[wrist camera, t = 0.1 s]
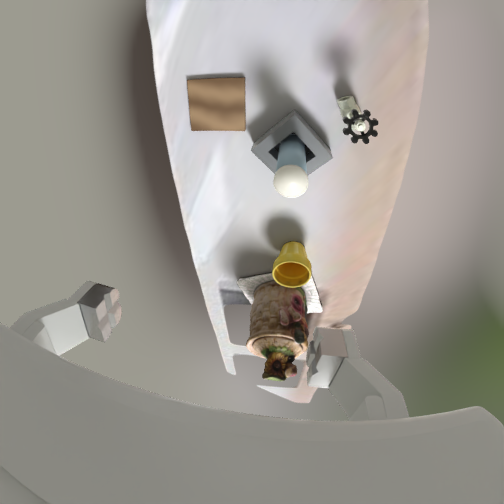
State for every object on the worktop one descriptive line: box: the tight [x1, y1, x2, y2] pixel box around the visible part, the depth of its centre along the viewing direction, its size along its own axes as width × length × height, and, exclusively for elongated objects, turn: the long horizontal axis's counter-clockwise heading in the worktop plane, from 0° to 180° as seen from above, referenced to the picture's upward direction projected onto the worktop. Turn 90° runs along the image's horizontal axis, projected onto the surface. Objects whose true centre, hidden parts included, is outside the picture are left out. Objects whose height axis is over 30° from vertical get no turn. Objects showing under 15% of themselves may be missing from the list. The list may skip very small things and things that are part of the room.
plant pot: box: [272, 241, 311, 288], centre depth 74 cm, size 10×10×10 cm
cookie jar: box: [237, 273, 322, 381], centre depth 82 cm, size 25×25×32 cm
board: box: [187, 78, 246, 131], centre depth 51 cm, size 12×12×1 cm
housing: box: [251, 110, 333, 176], centre depth 55 cm, size 12×12×4 cm
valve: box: [337, 96, 378, 144], centre depth 44 cm, size 7×7×12 cm
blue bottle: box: [274, 134, 308, 198], centre depth 50 cm, size 6×6×17 cm
